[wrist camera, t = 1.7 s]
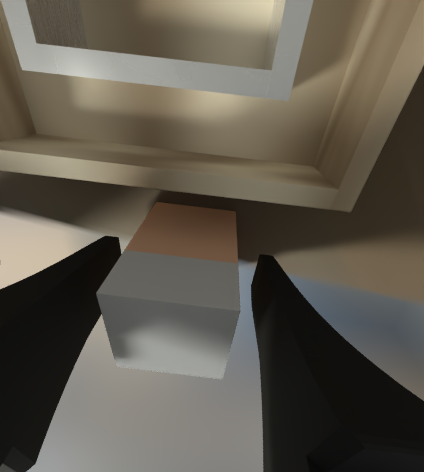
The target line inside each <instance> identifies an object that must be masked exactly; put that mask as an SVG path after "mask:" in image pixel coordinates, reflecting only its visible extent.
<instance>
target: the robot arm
mask: <svg viewBox="0 0 424 472" xmlns="http://www.w3.org/2000/svg"><path fill="white" fill-rule="evenodd" d="M120 256H121V249H120V243H119V237H112V236H104V237H102V238H100V239H98V240H97V241H95V242H93V243H91V244H90V245H88V246H86V247H84V248H82V249H81V250H79V251H77V252H75V253H74V254H72V255H70V256H68V257H66V258H65V259H63V260H61V261H59V262H57V263H55V264H53V265H51V266H50V267H48V268H46V269H44V270H42V271H40V272H38V273H36V274H34V275H32V276H30V277H27V278H25V279H23V280H21V281H19V282H16V283H14V284H12V285H10V286H7V287H5V288H2V289H0V472H26V471H27V470H29V469H30V468H31V467H32V466H33V465H34V464H35V463H36V461H37V458H38V455H39V452H40V449H41V447H42V444H43V441H44V439H45V436H46V433H47V431H48V428H49V425H50V423H51V420H52V418H53V415H54V413H55V410H56V408H57V405H58V403H59V400H60V398H61V396H62V393H63V391H64V388H65V386H66V384H67V381H68V379H69V377H70V375H71V372H72V370H73V368H74V365H75V363H76V361H77V359H78V357H79V355H80V352H81V350H82V348H83V346H84V344H85V342H86V340H87V338H88V336H89V335H90V333H91V331H92V329H93V328H94V326H95V324H96V322H97V321H98V319H99V317H100V316H101V314H102V313H101V309H100V306H99V302H98V298H97V295H96V293H97V291H98V290H99V288H100V287H101V285H102V284H103V282H104V281H105V279H106V278H107V276H108V275H109V273H110V272H111V270H112V268H113V267H114V265H115V264H116V262H117V261H118V259H119V258H120ZM251 300H252V311H253V318H254V324H255V331H256V338H257V345H258V351H259V359H260V374H261V392H262V417H263V418H262V419H263V465H264V467H263V468H264V472H424V401H423V400H421V399H420V398H419V397H417V396H416V395H414V394H413V393H412V392H410V391H409V390H407V389H406V388H405V387H403V386H402V385H400V384H399V383H398V382H396V381H395V380H394V379H393V378H391V377H390V376H389V375H387V374H386V373H385V372H384V371H382V370H381V369H380V368H378V367H377V366H376V365H375V364H373V363H372V362H371V361H370V360H368V359H367V358H366V357H365V356H364V355H362V354H361V353H360V352H359V351H357V349H355V348H354V347H353V346H352V345H351V344H350V343H349V342H348V341H346V340H345V339H344V338H343V337H342V336H341V335H340V334H339V333H338V332H337V331H336V330H334V328H332V326H331V325H329V323H328V322H326V320H325V319H323V317H322V316H320V314H318V312H317V311H316V310H315V309H314V308H313V307H312V306H311V304H310V303H309V302H308V301H307V300H306V299H305V298H304V297H303V295H302V294H301V293H300V292H299V290H298V289H297V288H296V287H295V286H294V284H293V283H292V281H291V280H290V279H289V277H288V276H287V275H286V273H285V272H284V271H283V269H282V268H281V266H280V265H279V264H278V262H277V261H276V259H275V258H274V257H273V256H270V255H261V254H260V255H259V259H258V262H257V266H256V270H255V274H254V277H253V281H252V284H251Z"/></svg>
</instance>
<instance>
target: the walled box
mask: <svg viewBox="0 0 424 472" xmlns="http://www.w3.org/2000/svg"><path fill="white" fill-rule="evenodd" d="M273 3H274V0H80V4H81V11H82V17H83V23H84V29H85V35H86V41H87V47H88V49H89V50H98V51H107V52H115V53H124V54H133V55H141V56H150V57H159V58H167V59H176V60H185V61H193V62H202V63H211V64H219V65H228V66H237V67H245V68H254V69H262V65H263V60H264V54H265V49H266V43H267V37H268V32H269V26H270V20H271V15H272V9H273ZM423 65H424V0H313V4H312V8H311V12H310V16H309V20H308V24H307V29H306V33H305V37H304V41H303V45H302V49H301V53H300V57H299V61H298V65H297V69H296V73H295V77H294V81H293V85H292V89H291V94H290V98H289V101H284V100H276V99H267V98H259V97H250V96H241V95H233V94H224V93H216V92H207V91H198V90H190V89H181V88H172V87H164V86H155V85H147V84H138V83H129V82H121V81H112V80H104V79H95V78H86V77H78V76H69V75H61V74H52V73H43V72H35V71H26V70H22V68H21V65H20V62H19V58H18V55H17V52H16V48H15V45H14V42H13V39H12V35H11V32H10V29H9V25H8V22H7V19H6V15H5V12H4V9H3V5H2V2H1V0H0V170H1V171H9V172H18V173H26V174H34V175H43V176H51V177H60V178H68V179H76V180H85V181H93V182H102V183H110V184H119V185H127V186H135V187H144V188H152V189H161V190H169V191H178V192H186V193H194V194H203V195H211V196H220V197H228V198H236V199H245V200H253V201H262V202H270V203H279V204H287V205H295V206H304V207H312V208H321V209H329V210H338V211H346V212H351V211H352V209H353V207H354V205H355V203H356V201H357V198H358V196H359V194H360V192H361V190H362V188H363V186H364V184H365V182H366V180H367V178H368V176H369V174H370V172H371V170H372V168H373V166H374V164H375V162H376V160H377V158H378V156H379V154H380V152H381V150H382V148H383V146H384V144H385V142H386V140H387V138H388V136H389V134H390V132H391V130H392V128H393V126H394V124H395V122H396V120H397V118H398V116H399V114H400V112H401V110H402V108H403V106H404V104H405V102H406V100H407V98H408V96H409V94H410V92H411V90H412V88H413V86H414V84H415V82H416V80H417V78H418V76H419V74H420V72H421V69H422V67H423Z"/></svg>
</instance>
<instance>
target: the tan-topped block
mask: <svg viewBox="0 0 424 472" xmlns="http://www.w3.org/2000/svg"><path fill="white" fill-rule="evenodd" d="M96 295H97V298H98V302H99V306H100V309H101V313H102V316H103V320H104V324H105V327H106V331H107V334H108V338H109V341H110V345H111V348H112V352H113V356H114V359H115V363H116V366H117V367H125V368H134V369H142V370H150V371H158V372H167V373H175V374H183V375H191V376H199V377H208V378H216V379H223V375H224V371H225V367H226V363H227V360H228V356H229V352H230V348H231V344H232V340H233V337H234V333H235V329H236V325H237V321H238V317H239V314H240V294H239V272H238V250H237V227H236V211H228V210H220V209H211V208H203V207H195V206H186V205H178V204H170V203H161V202H156V203H155V205H154V206H153V208H152V209H151V211H150V212H149V214H148V215H147V217H146V218H145V220H144V221H143V223H142V224H141V226H140V227H139V229H138V231H137V232H136V234H135V235H134V237H133V238H132V240H131V241H130V243H129V244H128V246H127V247H126V249H125V250H124V252H123V253H122V255H121V256H120V258H119V259H118V261H117V262H116V264H115V265H114V267H113V268H112V270H111V272H110V273H109V275H108V276H107V278H106V279H105V281H104V282H103V284H102V285H101V287H100V288H99V290H98V291H97V293H96Z"/></svg>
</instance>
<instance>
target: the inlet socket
mask: <svg viewBox="0 0 424 472" xmlns="http://www.w3.org/2000/svg"><path fill="white" fill-rule="evenodd" d="M1 2H2V5H3V9H4V12H5V15H6V19H7V22H8V25H9V29H10V32H11V35H12V39H13V42H14V45H15V48H16V52H17V55H18V58H19V62H20V65H21V68H22V70H26V71H35V72H43V73H52V74H61V75H69V76H78V77H86V78H95V79H104V80H112V81H121V82H129V83H138V84H147V85H155V86H164V87H172V88H181V89H190V90H198V91H207V92H216V93H224V94H233V95H241V96H250V97H259V98H267V99H276V100H284V101H289V98H290V94H291V89H292V85H293V81H294V77H295V73H296V69H297V65H298V61H299V57H300V53H301V49H302V45H303V41H304V37H305V33H306V29H307V24H308V20H309V16H310V12H311V8H312V4H313V0H274V3H273V9H272V15H271V20H270V26H269V32H268V37H267V43H266V49H265V54H264V60H263V65H262V69H254V68H245V67H237V66H228V65H219V64H211V63H202V62H193V61H185V60H176V59H167V58H159V57H150V56H141V55H133V54H124V53H115V52H107V51H98V50H89V49H88V47H87V41H86V35H85V29H84V23H83V17H82V11H81V4H80V0H1Z"/></svg>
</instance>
